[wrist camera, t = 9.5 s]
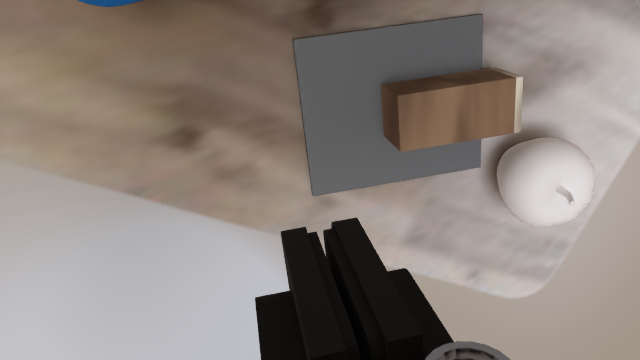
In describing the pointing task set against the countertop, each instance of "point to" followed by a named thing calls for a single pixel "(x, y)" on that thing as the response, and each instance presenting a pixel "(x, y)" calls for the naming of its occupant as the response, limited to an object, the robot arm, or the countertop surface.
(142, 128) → the countertop surface
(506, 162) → the plain white apple
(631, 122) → the countertop surface
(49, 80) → the countertop surface
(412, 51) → the mat
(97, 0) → the beverage can
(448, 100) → the block
